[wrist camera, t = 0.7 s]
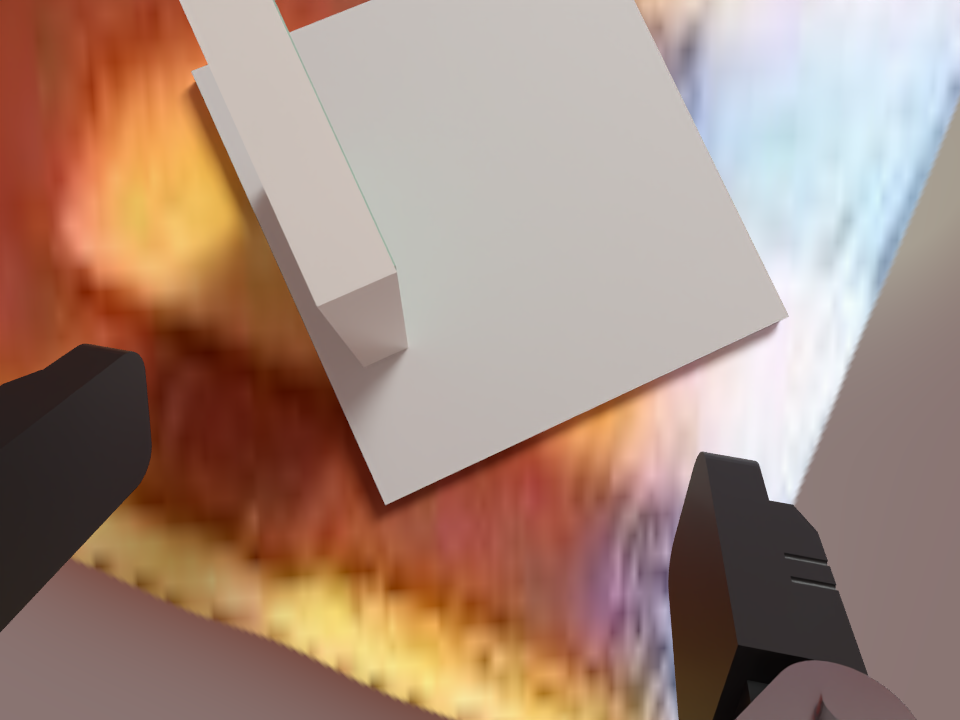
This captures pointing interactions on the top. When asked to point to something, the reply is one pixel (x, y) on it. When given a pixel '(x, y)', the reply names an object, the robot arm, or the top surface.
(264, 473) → the top surface
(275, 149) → the tile
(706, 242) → the mat
